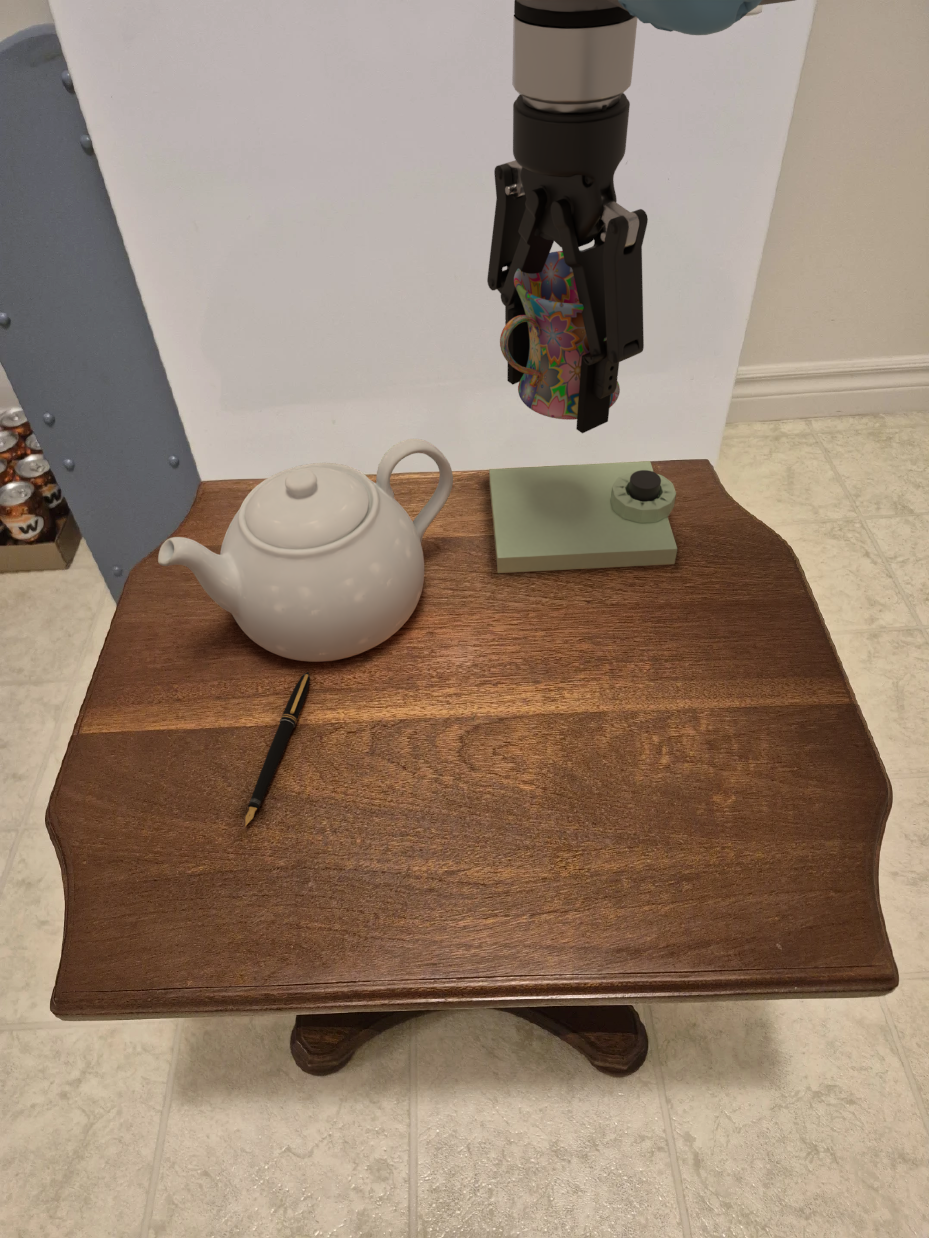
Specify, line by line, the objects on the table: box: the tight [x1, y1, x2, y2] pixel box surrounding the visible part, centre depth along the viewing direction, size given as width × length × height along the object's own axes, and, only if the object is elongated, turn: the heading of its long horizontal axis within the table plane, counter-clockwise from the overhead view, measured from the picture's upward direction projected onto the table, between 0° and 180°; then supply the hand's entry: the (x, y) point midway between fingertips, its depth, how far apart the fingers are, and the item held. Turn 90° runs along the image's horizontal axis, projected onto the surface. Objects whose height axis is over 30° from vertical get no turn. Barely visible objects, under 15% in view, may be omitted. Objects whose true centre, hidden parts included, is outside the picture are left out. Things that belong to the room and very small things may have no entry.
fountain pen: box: [244, 671, 311, 828], centre depth 63 cm, size 14×1×2 cm, turn 169°
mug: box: [499, 249, 621, 421], centre depth 67 cm, size 12×9×11 cm
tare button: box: [628, 470, 661, 502], centre depth 78 cm, size 3×3×2 cm
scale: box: [488, 460, 678, 574], centre depth 79 cm, size 17×13×4 cm
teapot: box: [157, 438, 454, 663], centre depth 70 cm, size 19×18×14 cm
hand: (556, 400), depth 71 cm, fingers closed on mug, 8 cm apart
